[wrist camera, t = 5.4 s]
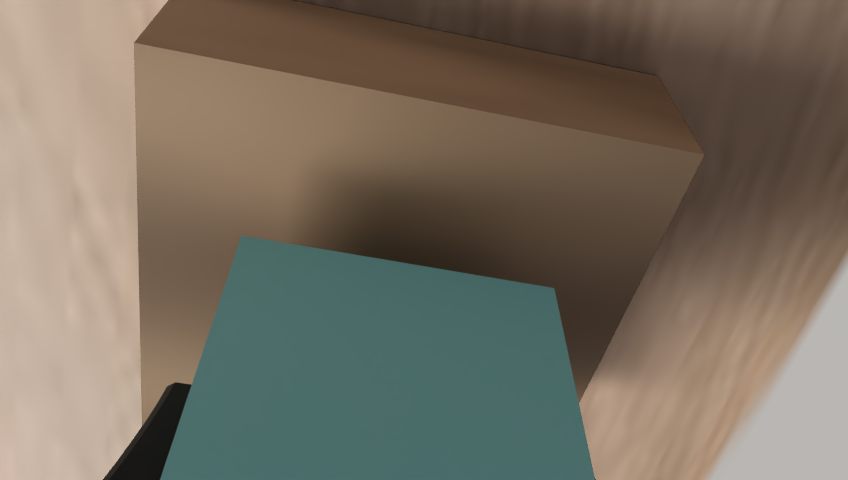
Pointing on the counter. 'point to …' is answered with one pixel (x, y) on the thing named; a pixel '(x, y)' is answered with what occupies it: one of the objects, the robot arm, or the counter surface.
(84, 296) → the counter surface
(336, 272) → the teal block
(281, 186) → the walnut plinth
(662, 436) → the counter surface
